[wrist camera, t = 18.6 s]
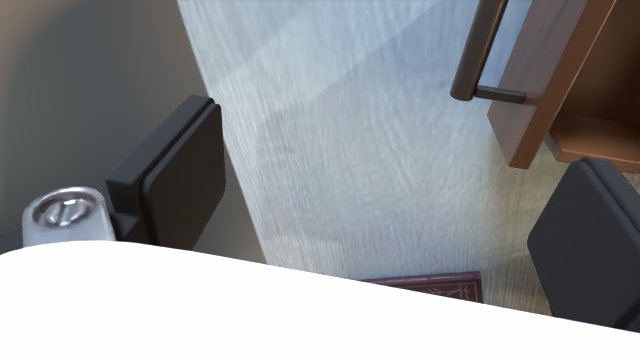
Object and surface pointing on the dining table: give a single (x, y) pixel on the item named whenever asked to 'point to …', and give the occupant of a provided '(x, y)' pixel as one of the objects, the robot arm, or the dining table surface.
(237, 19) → the dining table surface
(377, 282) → the chocolate bar
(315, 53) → the dining table surface
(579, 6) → the drawer
